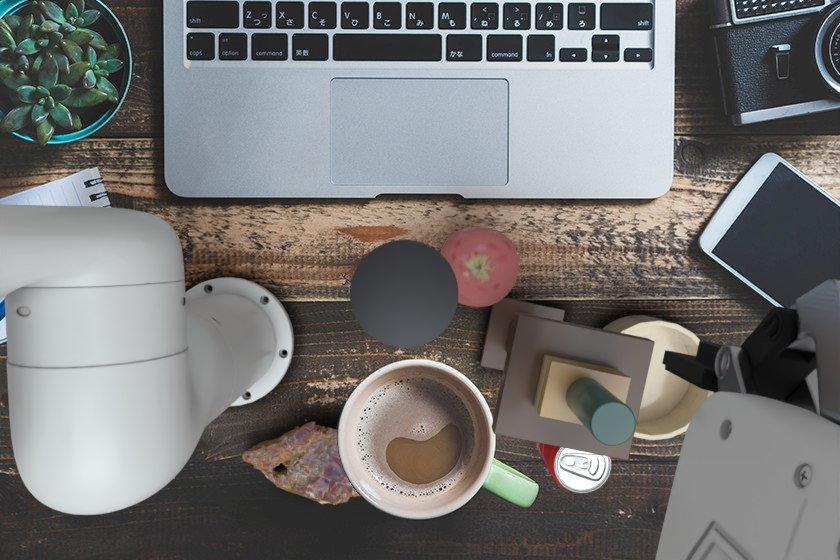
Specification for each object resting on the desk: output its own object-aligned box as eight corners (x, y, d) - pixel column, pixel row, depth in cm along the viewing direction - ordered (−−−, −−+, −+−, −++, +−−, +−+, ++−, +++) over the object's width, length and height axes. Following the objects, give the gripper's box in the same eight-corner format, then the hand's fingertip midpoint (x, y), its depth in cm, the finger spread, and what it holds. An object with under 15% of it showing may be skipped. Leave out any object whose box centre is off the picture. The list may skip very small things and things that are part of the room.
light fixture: (392, 317, 67) (376, 364, 42) (364, 255, 66) (332, 265, 42) (454, 290, 67) (475, 322, 42) (427, 228, 66) (432, 222, 41)
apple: (428, 292, 67) (429, 300, 59) (446, 219, 66) (449, 217, 58) (501, 310, 67) (512, 320, 59) (519, 237, 66) (533, 237, 58)
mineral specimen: (275, 391, 62) (276, 394, 69) (231, 468, 60) (236, 463, 67) (389, 453, 63) (379, 449, 70) (350, 530, 61) (343, 519, 68)
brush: (532, 406, 44) (559, 446, 36) (544, 353, 44) (574, 381, 35) (607, 422, 44) (652, 465, 36) (619, 369, 44) (667, 401, 35)
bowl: (572, 413, 67) (584, 427, 62) (595, 305, 67) (609, 310, 62) (680, 434, 68) (700, 450, 63) (704, 326, 67) (727, 334, 62)
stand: (468, 367, 67) (493, 434, 44) (484, 288, 67) (518, 314, 44) (557, 385, 67) (628, 460, 44) (574, 306, 67) (655, 341, 44)
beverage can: (573, 455, 68) (606, 501, 56) (523, 445, 68) (545, 489, 56) (585, 404, 67) (620, 440, 55) (534, 394, 67) (558, 428, 55)
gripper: (1014, 272, 9) (627, 250, 26) (727, 1403, 10) (534, 673, 27) (1550, 380, 9) (816, 288, 26) (1212, 1491, 10) (717, 708, 27)
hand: (673, 484), depth 27 cm, fingers open, 9 cm apart
